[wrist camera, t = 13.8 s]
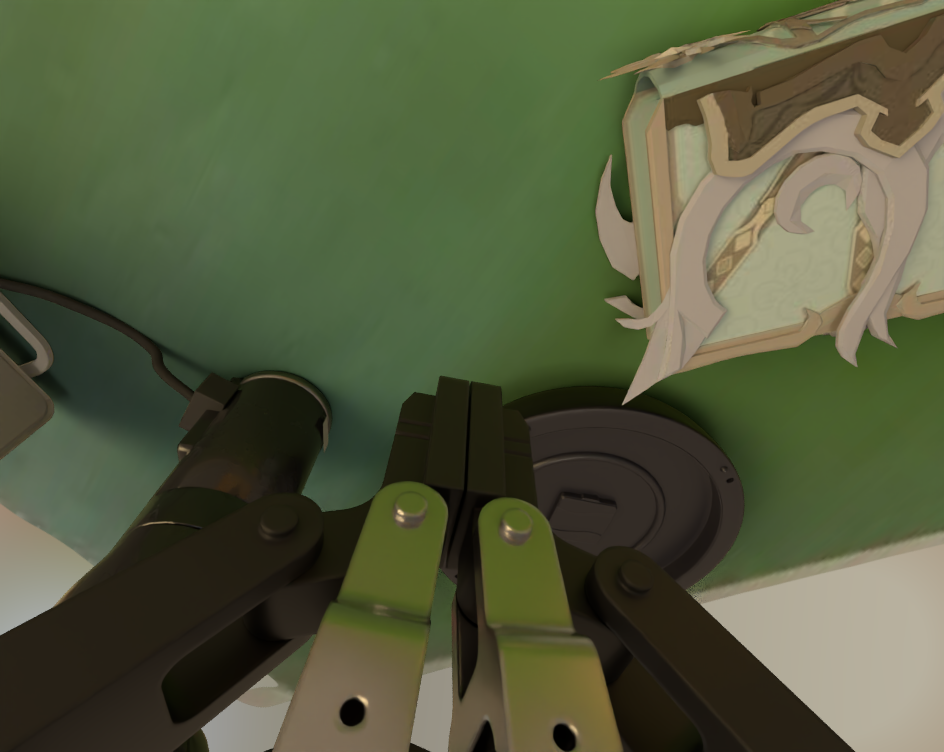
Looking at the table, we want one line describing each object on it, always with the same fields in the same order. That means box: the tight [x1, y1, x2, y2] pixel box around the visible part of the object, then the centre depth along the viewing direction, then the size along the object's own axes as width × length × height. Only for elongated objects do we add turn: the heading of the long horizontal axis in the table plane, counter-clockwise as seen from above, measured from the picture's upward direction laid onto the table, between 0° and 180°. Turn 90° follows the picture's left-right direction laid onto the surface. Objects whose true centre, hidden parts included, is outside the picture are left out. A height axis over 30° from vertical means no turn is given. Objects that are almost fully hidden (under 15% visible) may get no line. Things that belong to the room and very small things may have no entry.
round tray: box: [440, 386, 744, 590], centre depth 48 cm, size 30×6×30 cm
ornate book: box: [595, 0, 944, 405], centre depth 30 cm, size 23×10×30 cm
